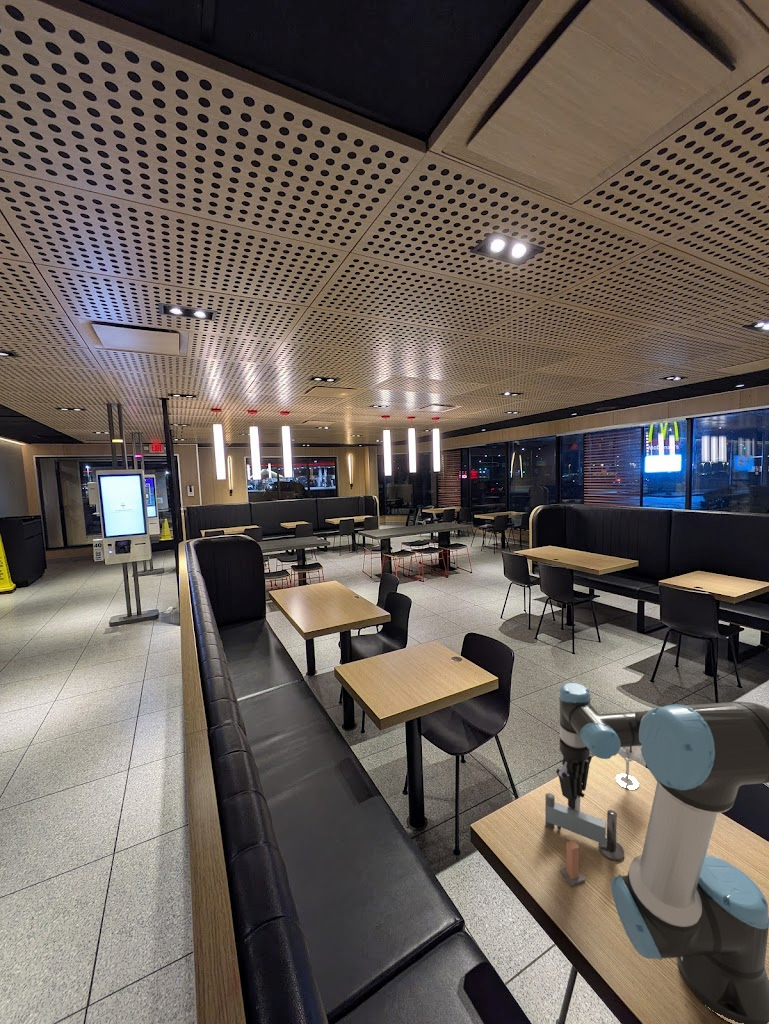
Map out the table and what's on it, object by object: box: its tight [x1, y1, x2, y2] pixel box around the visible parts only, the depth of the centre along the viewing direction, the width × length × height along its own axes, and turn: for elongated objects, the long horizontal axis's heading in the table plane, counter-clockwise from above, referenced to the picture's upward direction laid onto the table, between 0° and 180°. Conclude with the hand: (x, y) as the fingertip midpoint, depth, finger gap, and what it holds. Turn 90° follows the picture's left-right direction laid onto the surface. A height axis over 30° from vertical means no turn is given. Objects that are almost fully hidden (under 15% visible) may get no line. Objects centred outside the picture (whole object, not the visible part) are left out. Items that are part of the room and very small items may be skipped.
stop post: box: [559, 839, 586, 887], centre depth 104 cm, size 4×4×9 cm
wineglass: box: [615, 746, 643, 791], centre depth 133 cm, size 8×8×18 cm
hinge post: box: [598, 809, 625, 862], centre depth 111 cm, size 6×6×11 cm
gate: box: [544, 792, 607, 845], centre depth 116 cm, size 15×2×9 cm, turn 58°
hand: (574, 815), depth 118 cm, fingers closed
